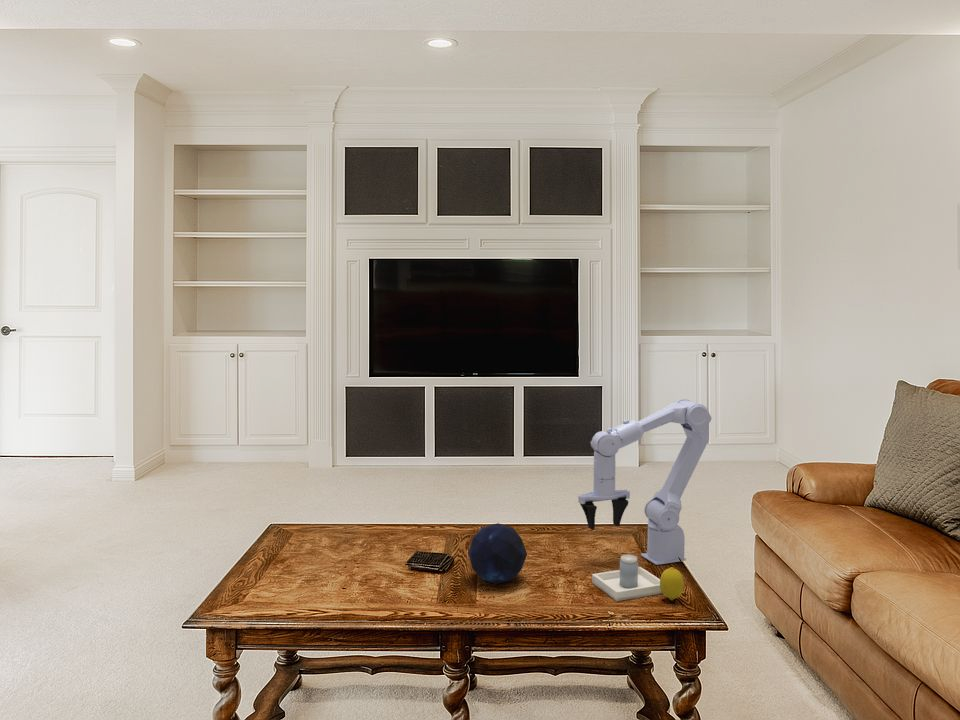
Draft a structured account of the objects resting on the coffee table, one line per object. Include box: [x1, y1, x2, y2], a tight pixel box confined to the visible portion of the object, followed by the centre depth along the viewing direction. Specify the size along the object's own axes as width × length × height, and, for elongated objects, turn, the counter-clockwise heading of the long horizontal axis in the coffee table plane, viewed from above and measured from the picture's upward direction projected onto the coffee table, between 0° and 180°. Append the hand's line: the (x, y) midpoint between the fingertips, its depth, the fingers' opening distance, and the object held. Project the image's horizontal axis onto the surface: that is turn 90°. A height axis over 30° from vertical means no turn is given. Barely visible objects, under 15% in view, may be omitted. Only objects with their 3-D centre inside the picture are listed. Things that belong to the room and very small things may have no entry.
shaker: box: [619, 554, 639, 589], centre depth 183 cm, size 4×4×7 cm
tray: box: [591, 566, 664, 602], centre depth 183 cm, size 14×12×2 cm
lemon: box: [659, 566, 685, 601], centre depth 175 cm, size 6×6×8 cm
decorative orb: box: [467, 522, 528, 585], centre depth 188 cm, size 14×15×15 cm
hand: (603, 526), depth 199 cm, fingers open, 7 cm apart
